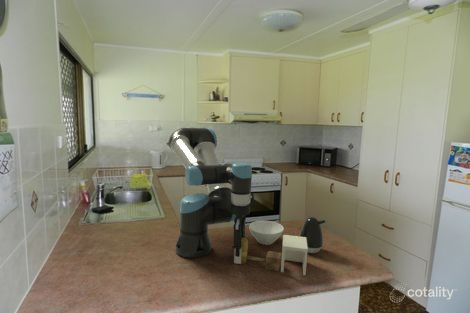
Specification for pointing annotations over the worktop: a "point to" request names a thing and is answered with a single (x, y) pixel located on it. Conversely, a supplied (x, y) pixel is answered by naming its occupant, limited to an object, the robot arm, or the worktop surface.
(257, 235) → the bowl
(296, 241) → the cream u-shaped stand
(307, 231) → the pump dispenser
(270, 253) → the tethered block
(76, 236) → the worktop surface
